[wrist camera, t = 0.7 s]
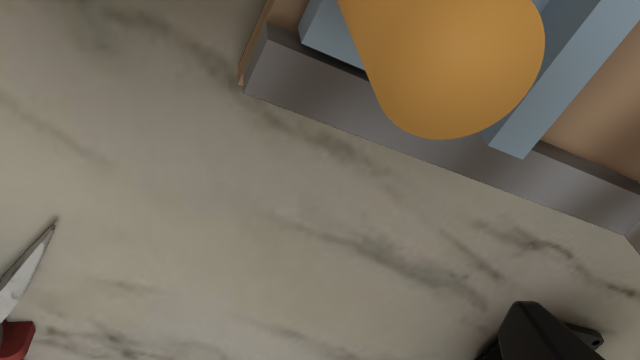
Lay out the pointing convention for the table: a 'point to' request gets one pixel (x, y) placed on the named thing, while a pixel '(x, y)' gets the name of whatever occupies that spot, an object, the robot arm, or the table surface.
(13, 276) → the pliers
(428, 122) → the press jaw
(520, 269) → the table surface
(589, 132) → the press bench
